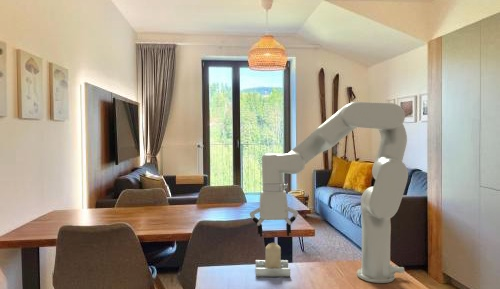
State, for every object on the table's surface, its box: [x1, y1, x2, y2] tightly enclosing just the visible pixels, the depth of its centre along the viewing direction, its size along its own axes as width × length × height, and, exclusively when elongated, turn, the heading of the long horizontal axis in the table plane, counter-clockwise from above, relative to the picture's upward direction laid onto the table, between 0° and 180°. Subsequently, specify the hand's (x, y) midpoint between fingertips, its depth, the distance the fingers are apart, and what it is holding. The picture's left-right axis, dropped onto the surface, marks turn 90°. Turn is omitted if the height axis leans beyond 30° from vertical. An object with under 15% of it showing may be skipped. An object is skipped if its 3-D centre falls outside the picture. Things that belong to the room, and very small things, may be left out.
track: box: [255, 259, 291, 279], centre depth 136 cm, size 12×9×3 cm
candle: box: [264, 242, 282, 268], centre depth 136 cm, size 6×6×10 cm
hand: (274, 235), depth 136 cm, fingers open, 9 cm apart
